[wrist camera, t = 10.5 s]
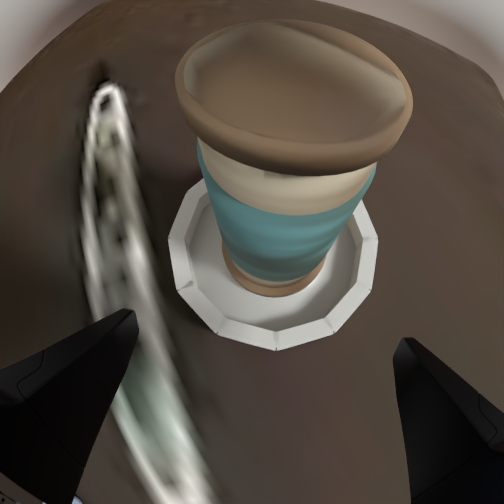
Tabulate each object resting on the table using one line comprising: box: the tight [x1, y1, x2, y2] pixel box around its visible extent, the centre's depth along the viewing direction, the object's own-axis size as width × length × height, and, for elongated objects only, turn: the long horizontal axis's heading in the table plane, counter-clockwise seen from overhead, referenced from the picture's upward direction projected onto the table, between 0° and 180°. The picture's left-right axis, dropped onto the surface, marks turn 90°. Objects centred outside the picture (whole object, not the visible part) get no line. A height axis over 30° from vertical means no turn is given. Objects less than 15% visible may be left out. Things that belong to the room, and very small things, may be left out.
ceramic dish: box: [168, 178, 378, 351], centre depth 18 cm, size 12×12×2 cm
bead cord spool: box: [175, 19, 413, 298], centre depth 12 cm, size 6×6×13 cm
